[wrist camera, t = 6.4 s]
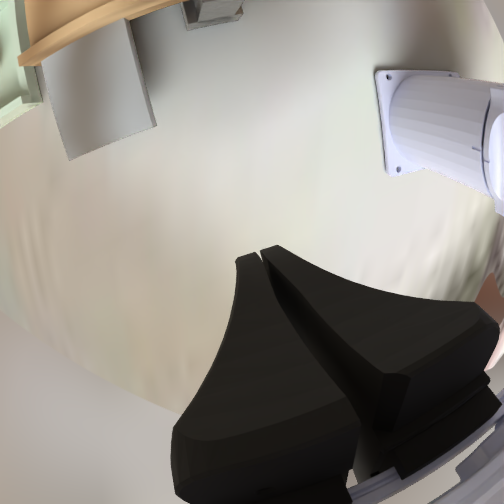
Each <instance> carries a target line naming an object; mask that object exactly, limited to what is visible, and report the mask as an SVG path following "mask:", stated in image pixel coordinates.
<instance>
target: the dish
mask: <svg viewBox="0 0 504 504" xmlns="http://www.w3.org/2000/svg"><path fill="white" fill-rule="evenodd" d="M29 48H30V41H29V35H28V28H27V21H26V13H25V3H24V0H0V129H1V128H2V127H4V126H5V125H7V124H8V123H10V122H11V121H13V120H14V119H16V118H17V117H19V116H21V115H22V114H24V113H26V112H27V111H29V110H31V109H32V108H34V107H36V106H37V105H39V104H41V103H43V101H42V97H41V93H40V89H39V85H38V81H37V77H36V72H35V68H34V66H20V67H19V64H18V59H17V57H18V56H19V55H20V54H22V53H23V52H24V51H26V50H27V49H29Z"/></svg>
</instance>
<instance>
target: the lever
mask: <svg viewBox="0 0 504 504" xmlns="http://www.w3.org/2000/svg"><path fill="white" fill-rule="evenodd" d="M184 1H188V0H24V3H25V13H26V21H27V28H28V35H29V41H30V48H29V49H27V50H26V51H24V52H23V53H22V54H20V55H19V56H18V57H17V59H18V64H19V67H20V66H42V69H43V73H44V78H45V82H46V86H47V90H48V94H49V98H50V101H51V105H52V109H53V112H54V116H55V119H56V122H57V126H58V129H59V132H60V135H61V138H62V142H63V145H64V148H65V151H66V153H67V156H68V159H69V161H70V160H73V159H75V158H77V157H79V156H81V155H84V154H86V153H88V152H91V151H93V150H95V149H98V148H100V147H103V146H105V145H107V144H110V143H112V142H115V141H118V140H120V139H123V138H125V137H128V136H131V135H134V134H136V133H139V132H142V131H145V130H148V129H151V128H153V127H155V126H157V123H156V120H155V116H154V113H153V109H152V106H151V102H150V99H149V95H148V92H147V88H146V84H145V81H144V77H143V73H142V70H141V66H140V62H139V58H138V54H137V50H136V47H135V43H134V38H133V34H132V30H131V26H130V22H129V20H132V19H134V18H137V17H140V16H142V15H145V14H147V13H150V12H153V11H156V10H159V9H162V8H165V7H168V6H171V5H174V4H177V3H181V2H184Z"/></svg>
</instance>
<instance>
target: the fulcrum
mask: <svg viewBox="0 0 504 504" xmlns="http://www.w3.org/2000/svg"><path fill="white" fill-rule="evenodd" d="M244 1H245V0H188V1H184V2H181V3H180V5H181V9H182V12H183V16H184V20H185V24H186V28H187V31H189V30H193V29H198V28H202V27H207V26H211V25H216V24H221V23H227V22H233V21H238V20H239V18H240V17H241V16H242V15H243V11H242V7H241V5H242V3H243V2H244Z"/></svg>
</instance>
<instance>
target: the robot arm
mask: <svg viewBox="0 0 504 504" xmlns="http://www.w3.org/2000/svg"><path fill="white" fill-rule="evenodd" d="M386 75H388V79H387V78H386ZM375 80H376V86H377V92H378V99H379V106H380V113H381V121H382V130H383V140H384V150H385V163H386V173H387V174H388V175H389V176H391V177H395V176H399V175H403V174H406V173H410V172H414V171H418V170H422V169H429V170H431V171H434V172H436V173H439V174H441V175H443V176H446V177H448V178H450V179H452V180H455V181H457V182H459V183H461V184H464V185H466V186H468V187H470V188H472V189H474V190H476V191H478V192H480V193H483V194H485V195H487V196H489V197H491V198H493V199H494V201H495V212H497V213H499V214H501V215H502V216H504V84H503V83H497V82H491V81H484V80H476V79H467V78H460V75H459V74H458V73H457V72H450V71H431V70H379V71H377V72H376V74H375ZM397 167H398V170H397V171H396V168H397ZM260 253H261V257H262V260H261V258H260V257H259V256H258V254H257V253H256V252H253V253H250V254H247V255H244V256H241V257H238V258H237V259H236V261H235V263H236V270H237V275H236V287H235V295H234V301H233V305H232V310H231V315H230V319H229V322H228V326H227V329H226V332H225V335H224V338H223V340H222V343H221V345H220V348H219V350H218V353H217V355H216V358H215V360H214V362H213V364H212V366H211V368H210V370H209V372H208V374H207V375H206V377H205V379H204V381H203V383H202V385H201V386H200V388H199V390H198V392H197V393H196V395H195V397H194V398H193V400H192V401H191V403H190V404H189V406H188V407H187V408H186V410H185V411H184V413H183V414H182V416H181V417H180V418H179V420H178V421H177V423H176V424H175V425H174V427H173V432H172V440H171V470H172V476H173V482H174V489H175V494H176V495H177V496H178V497H180V498H181V499H182V500H184V501H186V502H188V503H190V504H377V503H379V502H381V501H383V500H385V499H387V498H389V497H391V496H393V495H395V494H397V493H399V492H400V491H402V490H404V489H406V488H408V487H409V486H411V485H413V484H414V483H416V482H418V481H419V480H421V479H423V478H424V477H426V476H428V475H429V474H431V473H432V472H434V471H435V470H437V469H438V468H440V467H441V466H443V465H444V464H446V463H447V462H449V461H450V460H452V459H453V458H454V457H455V456H457V455H458V454H460V453H461V452H462V451H464V450H465V449H466V448H468V447H469V446H470V445H472V444H473V443H474V442H475V441H477V440H478V439H479V438H480V437H481V436H483V435H484V434H485V433H486V432H487V431H488V430H489V429H491V428H492V427H493V426H494V425H495V424H496V423H497V424H496V425H495V431H494V432H493V433H491V435H489V436H488V437H487V438H486V439H485V440H484V441H483V442H482V443H481V444H480V445H479V446H478V447H477V448H476V449H475V450H474V452H473V453H471V454H470V455H469V456H468V457H467V458H466V459H465V460H464V461H462V462H461V463H460V464H459V465H458V466H457V467H456V469H455V470H456V472H457V474H458V475H459V477H460V479H461V480H460V482H459V483H458V484H456V485H455V486H454V487H452V488H451V489H449V490H448V491H446V492H445V493H443V494H442V495H440V496H439V497H437V498H436V499H434V500H433V501H431V502H429V503H428V504H504V389H502V390H501V391H500V392H499V393H498V394H497V395H496V396H495V394H493V392H492V391H491V389H490V388H489V387H488V386H487V385H488V384H489V383H490V378H489V376H488V375H487V374H486V373H485V372H484V369H485V367H486V365H487V363H488V361H489V359H490V357H491V355H492V353H493V351H494V349H495V347H496V345H497V342H498V340H499V334H500V328H499V325H498V323H497V322H496V321H495V320H494V319H493V318H492V317H490V316H489V315H488V314H487V313H486V312H485V311H484V310H483V309H482V308H481V307H480V306H479V305H477V304H476V303H475V302H461V301H440V300H431V299H423V298H416V297H410V296H404V295H399V294H395V293H390V292H386V291H382V290H378V289H374V288H371V287H368V286H365V285H362V284H358V283H355V282H352V281H350V280H347V279H344V278H342V277H339V276H337V275H335V274H332V273H330V272H328V271H326V270H323V269H321V268H319V267H317V266H315V265H313V264H311V263H309V262H307V261H306V260H304V259H302V258H300V257H298V256H297V255H295V254H293V253H291V252H290V251H288V250H286V249H284V248H283V247H281V246H279V245H275V246H272V247H269V248H266V249H263V250H260ZM262 261H263V262H262ZM350 469H353V471H354V474H355V477H356V479H357V482H358V484H357V485H355V486H352V487H350V488H348V489H347V488H346V482H347V477H348V472H349V470H350Z"/></svg>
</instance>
